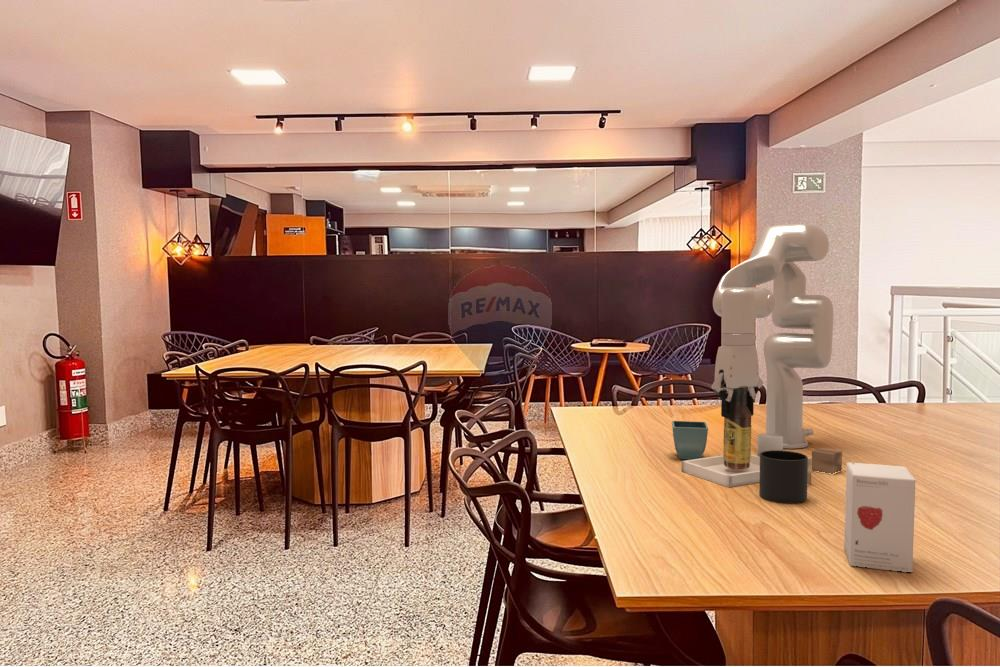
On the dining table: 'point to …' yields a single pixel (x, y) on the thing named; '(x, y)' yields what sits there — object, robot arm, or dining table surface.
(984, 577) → the dining table surface
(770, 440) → the white rounded block
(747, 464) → the sauce bottle
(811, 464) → the beech block
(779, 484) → the mug
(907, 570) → the supplement box
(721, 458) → the tray
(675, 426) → the flower pot
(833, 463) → the walnut cube
